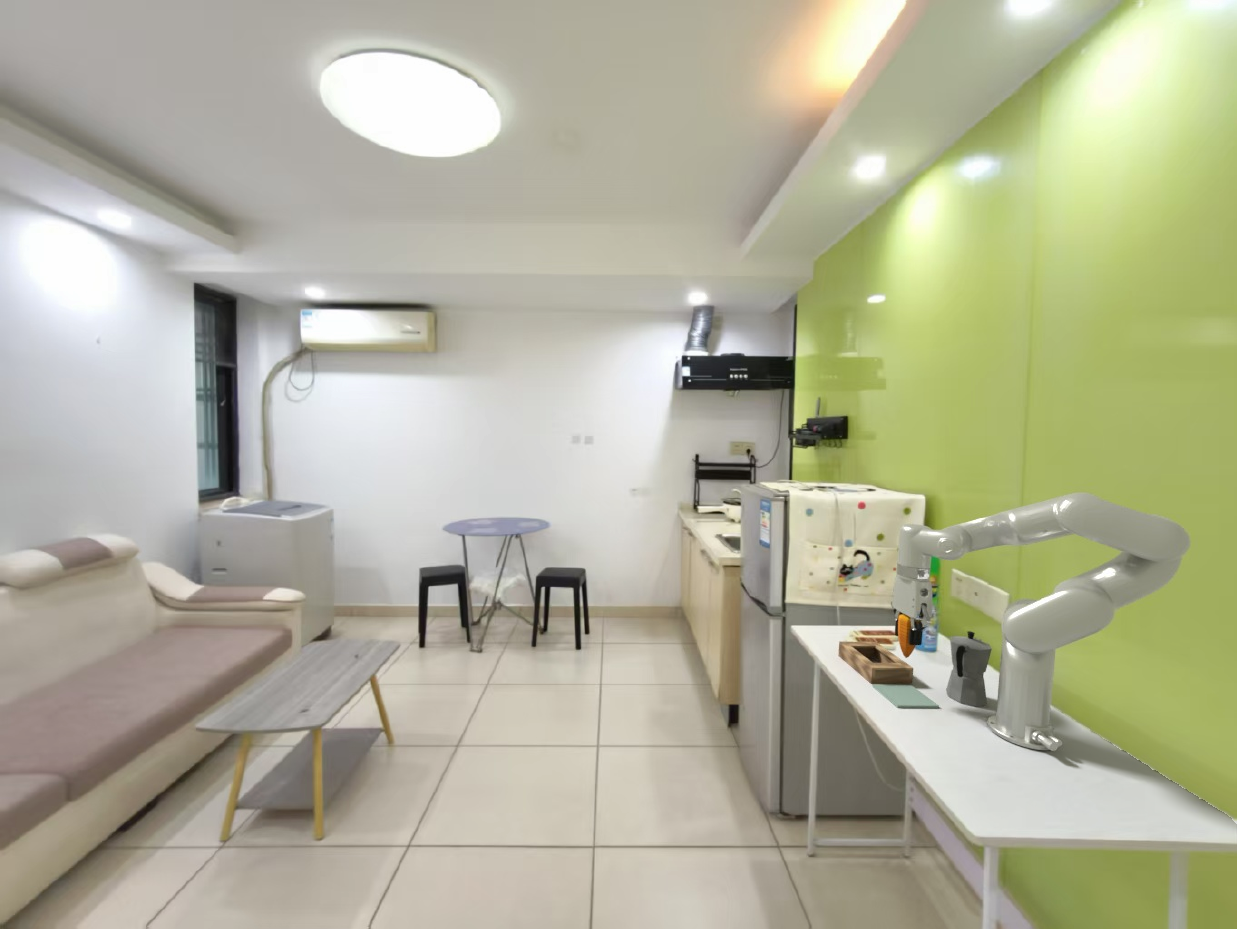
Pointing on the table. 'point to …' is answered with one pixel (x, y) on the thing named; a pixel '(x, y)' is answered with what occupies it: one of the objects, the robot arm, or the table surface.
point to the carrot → (905, 634)
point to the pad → (905, 696)
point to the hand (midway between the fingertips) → (907, 639)
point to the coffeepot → (968, 670)
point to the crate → (875, 673)
